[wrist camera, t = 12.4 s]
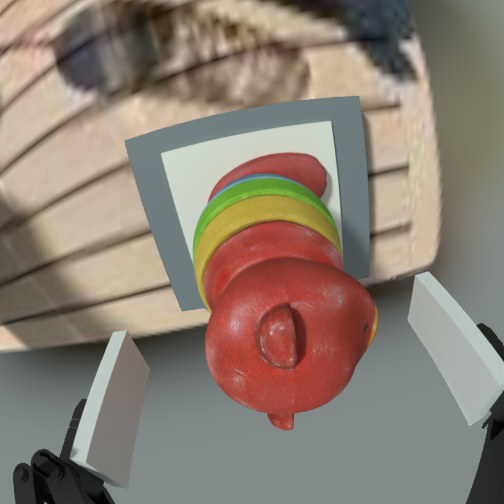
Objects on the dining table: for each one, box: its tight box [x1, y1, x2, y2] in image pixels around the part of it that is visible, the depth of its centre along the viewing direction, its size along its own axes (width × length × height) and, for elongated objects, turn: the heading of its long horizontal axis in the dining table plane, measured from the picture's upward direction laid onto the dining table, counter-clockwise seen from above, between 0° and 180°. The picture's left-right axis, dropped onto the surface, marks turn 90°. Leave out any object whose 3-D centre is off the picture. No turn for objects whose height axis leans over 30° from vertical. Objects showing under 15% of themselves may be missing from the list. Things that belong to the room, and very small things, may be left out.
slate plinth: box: [125, 96, 370, 311], centre depth 26 cm, size 20×18×3 cm
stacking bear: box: [193, 152, 378, 430], centre depth 17 cm, size 11×10×18 cm
